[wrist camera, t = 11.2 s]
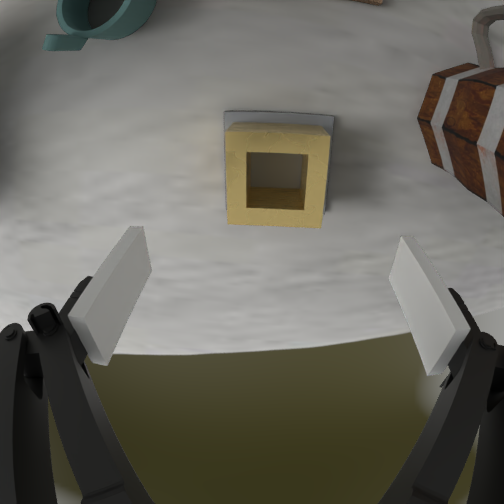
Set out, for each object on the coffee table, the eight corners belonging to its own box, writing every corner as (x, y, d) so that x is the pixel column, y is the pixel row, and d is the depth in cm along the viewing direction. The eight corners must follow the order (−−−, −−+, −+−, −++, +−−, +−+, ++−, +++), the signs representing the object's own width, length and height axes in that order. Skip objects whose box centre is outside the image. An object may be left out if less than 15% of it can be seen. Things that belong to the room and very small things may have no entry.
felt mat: (227, 207, 32) (226, 209, 31) (224, 111, 26) (223, 112, 26) (323, 211, 31) (324, 214, 31) (332, 115, 26) (333, 116, 25)
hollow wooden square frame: (234, 201, 31) (227, 224, 27) (233, 122, 26) (225, 132, 22) (314, 204, 30) (320, 228, 26) (321, 125, 26) (330, 136, 22)
